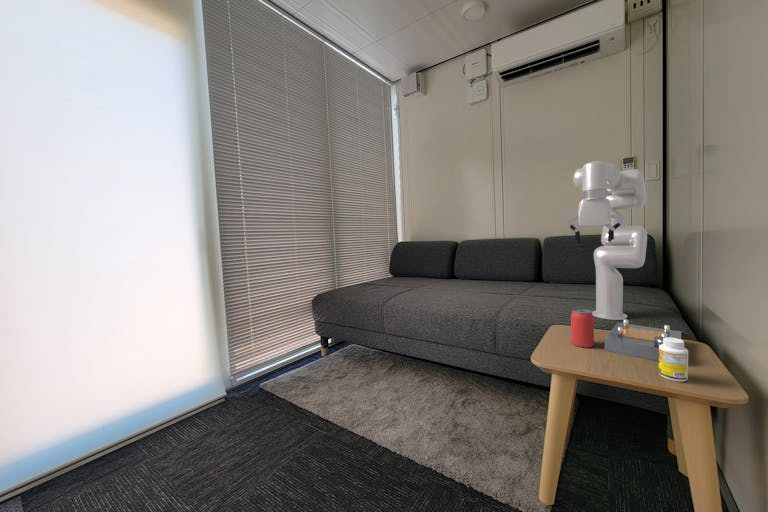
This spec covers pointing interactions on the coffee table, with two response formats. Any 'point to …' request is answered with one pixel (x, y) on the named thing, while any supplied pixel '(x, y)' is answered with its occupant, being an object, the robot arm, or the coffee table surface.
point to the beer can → (582, 328)
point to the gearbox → (638, 340)
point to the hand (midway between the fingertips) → (593, 242)
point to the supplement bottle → (673, 359)
